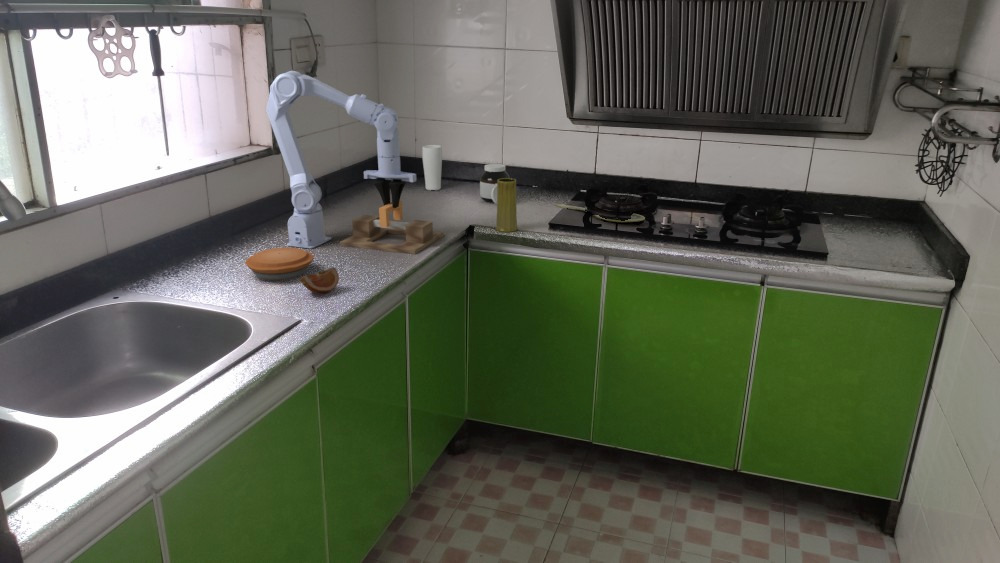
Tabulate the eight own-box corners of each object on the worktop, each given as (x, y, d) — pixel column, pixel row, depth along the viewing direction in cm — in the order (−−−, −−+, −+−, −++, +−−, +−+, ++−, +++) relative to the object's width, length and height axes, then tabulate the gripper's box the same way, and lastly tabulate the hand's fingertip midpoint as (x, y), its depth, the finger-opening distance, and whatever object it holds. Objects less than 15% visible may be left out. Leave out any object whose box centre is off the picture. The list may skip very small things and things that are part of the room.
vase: (521, 229, 210) (522, 179, 205) (507, 233, 206) (507, 183, 201) (506, 225, 214) (506, 176, 209) (491, 229, 210) (491, 180, 205)
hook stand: (444, 235, 204) (443, 216, 202) (414, 254, 188) (413, 233, 186) (374, 228, 211) (372, 209, 210) (340, 245, 196) (338, 225, 194)
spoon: (544, 213, 235) (544, 206, 235) (568, 207, 242) (568, 201, 241) (629, 228, 209) (630, 221, 209) (653, 222, 216) (653, 215, 215)
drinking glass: (421, 191, 257) (419, 147, 252) (426, 186, 263) (424, 144, 258) (440, 191, 256) (439, 148, 251) (444, 187, 262) (443, 145, 257)
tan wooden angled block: (386, 227, 194) (385, 208, 192) (380, 226, 194) (378, 208, 192) (402, 218, 201) (401, 200, 200) (396, 218, 202) (395, 200, 200)
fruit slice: (311, 301, 157) (309, 279, 156) (295, 293, 162) (293, 272, 160) (345, 291, 163) (343, 270, 161) (328, 284, 167) (326, 263, 166)
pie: (282, 259, 185) (280, 240, 183) (328, 269, 177) (327, 249, 176) (232, 277, 172) (230, 257, 171) (280, 289, 165) (278, 267, 163)
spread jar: (494, 196, 249) (494, 162, 245) (522, 201, 243) (522, 165, 239) (472, 203, 240) (472, 167, 236) (501, 208, 234) (501, 171, 230)
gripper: (420, 154, 193) (422, 205, 198) (372, 151, 198) (375, 201, 203) (408, 159, 187) (410, 211, 192) (358, 156, 192) (361, 207, 196)
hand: (391, 206), depth 197 cm, fingers closed on tan wooden angled block, 2 cm apart
